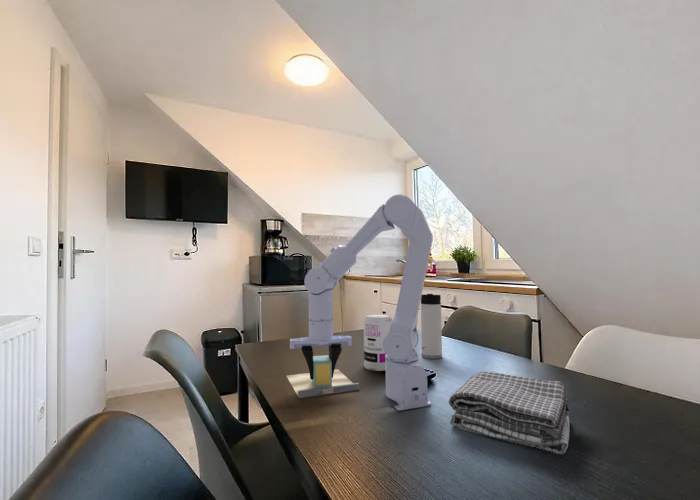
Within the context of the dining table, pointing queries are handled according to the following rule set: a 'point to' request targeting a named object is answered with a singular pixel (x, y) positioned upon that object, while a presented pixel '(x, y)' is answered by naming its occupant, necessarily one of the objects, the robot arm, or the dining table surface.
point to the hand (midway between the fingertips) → (321, 377)
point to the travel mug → (431, 326)
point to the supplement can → (375, 340)
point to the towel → (514, 410)
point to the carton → (322, 371)
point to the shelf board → (306, 389)
